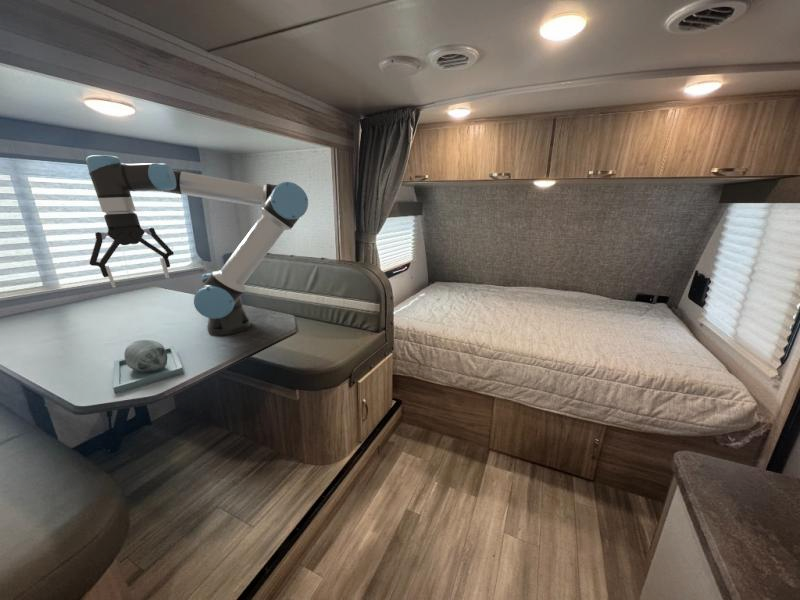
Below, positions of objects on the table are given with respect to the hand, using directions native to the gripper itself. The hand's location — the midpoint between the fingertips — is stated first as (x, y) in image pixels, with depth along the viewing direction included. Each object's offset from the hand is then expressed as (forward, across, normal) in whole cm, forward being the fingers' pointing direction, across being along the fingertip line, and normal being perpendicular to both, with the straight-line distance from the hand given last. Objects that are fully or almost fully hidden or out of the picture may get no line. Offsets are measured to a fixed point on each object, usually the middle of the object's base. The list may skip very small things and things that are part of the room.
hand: (142, 282), depth 99 cm
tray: (+24, +6, +12) cm, 28 cm away
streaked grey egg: (+24, +6, +12) cm, 27 cm away
